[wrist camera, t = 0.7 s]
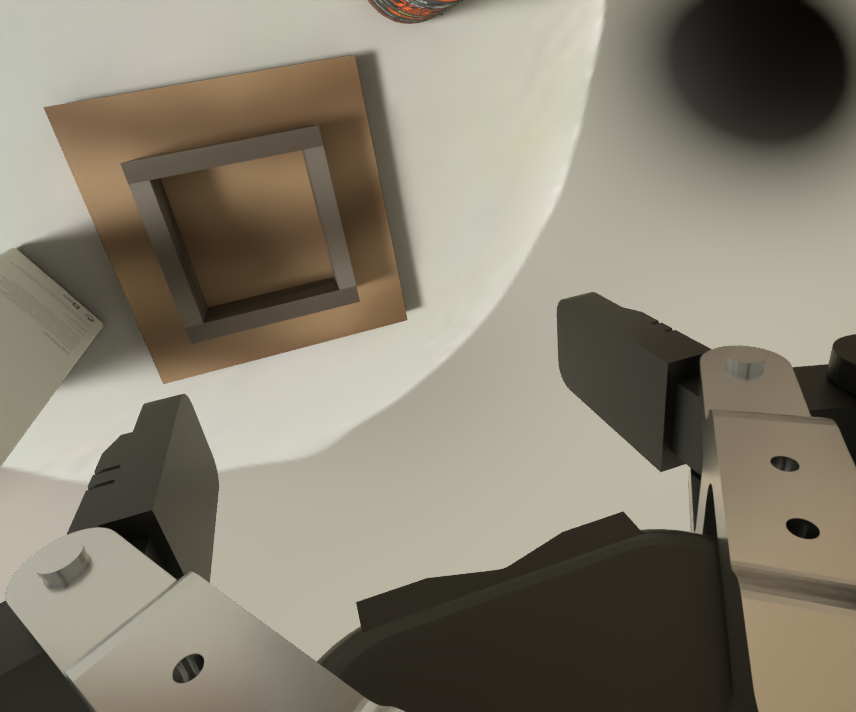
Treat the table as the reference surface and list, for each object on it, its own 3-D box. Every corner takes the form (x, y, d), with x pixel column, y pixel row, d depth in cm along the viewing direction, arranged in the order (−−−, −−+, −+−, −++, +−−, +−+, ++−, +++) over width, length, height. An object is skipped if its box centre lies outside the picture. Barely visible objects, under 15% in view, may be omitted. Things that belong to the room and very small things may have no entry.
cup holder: (53, 108, 29) (19, 105, 25) (350, 57, 31) (363, 48, 27) (167, 374, 35) (155, 406, 31) (402, 313, 38) (418, 335, 34)
